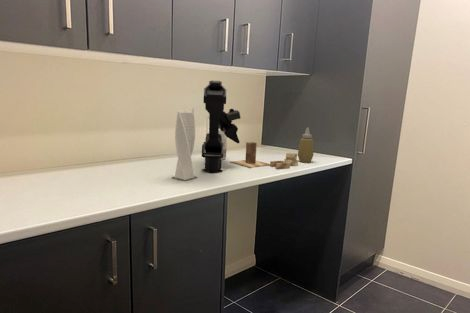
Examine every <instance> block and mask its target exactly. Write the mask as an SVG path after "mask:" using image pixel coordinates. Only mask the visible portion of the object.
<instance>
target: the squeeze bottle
mask: <svg viewBox="0 0 470 313" xmlns="http://www.w3.org/2000/svg"><path fill="white" fill-rule="evenodd" d="M312 136H313V135H312V134H311V133H310V127H306V129H305V132H304V134H303V133H302V137H301V138H300V141H299V146H298V151H297V158H298V162H299V163H300V162H301V163H305V164H306V163H311V162H312V160H313V157H314V139H312V138H313V137H312Z"/></svg>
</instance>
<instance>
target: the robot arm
mask: <svg viewBox="0 0 470 313" xmlns="http://www.w3.org/2000/svg"><path fill="white" fill-rule="evenodd" d="M222 84H223V82H222V81H220V80H210V81H208V84H207V86H206V87H204V88H203V104H204V106H205V107H204V108H205V111H206V112H207V113H208V115H209V117H208V133H206V136H205V139H204V140H205V141H204V142H203V143H202V145H201V158H204V168H202V169H201V170H202V171H204V172H206V173H210V174H215V173H222V172H223V169H222V160H221V158H223V143H222V138H221V134H219V129H220V130H221V131H223V133H224V134H225V135H226V136H227V139H230V141H233V142H235V143H236V144H240V140H239V137H238V130H239V127H238V126H237V125H236V124H235V123H233V121H235V120H241V114H240V110H236V109H235V110H234V108H230V109H229V110H228V112H226V111H224V109H225V105H227V89H226V88H225V86H223V85H222ZM221 151H222V153H221Z"/></svg>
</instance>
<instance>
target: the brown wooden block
mask: <svg viewBox="0 0 470 313" xmlns="http://www.w3.org/2000/svg"><path fill="white" fill-rule="evenodd" d="M245 144H246V145H245V159H244V160H245V163H248V164H254V163H255V162H256V161H257V160H256V157H257V142H254V141H252V142H251V141H250V142H249V141H248V142H245Z"/></svg>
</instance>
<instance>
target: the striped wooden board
mask: <svg viewBox="0 0 470 313" xmlns="http://www.w3.org/2000/svg"><path fill="white" fill-rule="evenodd" d="M245 160H246V159H242V160H234V161H230V162H229V163H230V164H233V165H237V166H241V167H245V168H249V169H252V168H260V167H264V166H265V167H266V166H267V167H268V166H270V163H269V162H263V161H259V160H256V162H255V163H254V164H248V163H245Z"/></svg>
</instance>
